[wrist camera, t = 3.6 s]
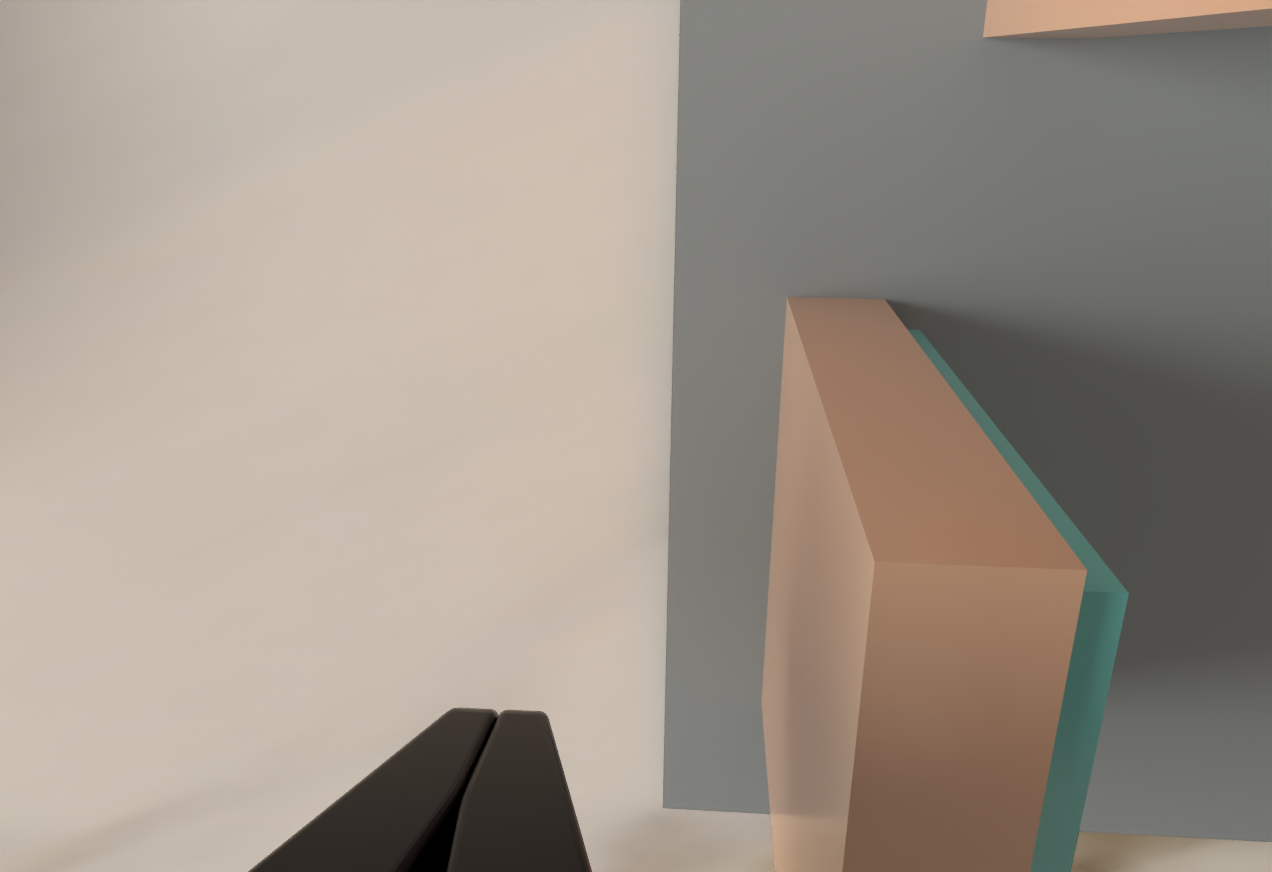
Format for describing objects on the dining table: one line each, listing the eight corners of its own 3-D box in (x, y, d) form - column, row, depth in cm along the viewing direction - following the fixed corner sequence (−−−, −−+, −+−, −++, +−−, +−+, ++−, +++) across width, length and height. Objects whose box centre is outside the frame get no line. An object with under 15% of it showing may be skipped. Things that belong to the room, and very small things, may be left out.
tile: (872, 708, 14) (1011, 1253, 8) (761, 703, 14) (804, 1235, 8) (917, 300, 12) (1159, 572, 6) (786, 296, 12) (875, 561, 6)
